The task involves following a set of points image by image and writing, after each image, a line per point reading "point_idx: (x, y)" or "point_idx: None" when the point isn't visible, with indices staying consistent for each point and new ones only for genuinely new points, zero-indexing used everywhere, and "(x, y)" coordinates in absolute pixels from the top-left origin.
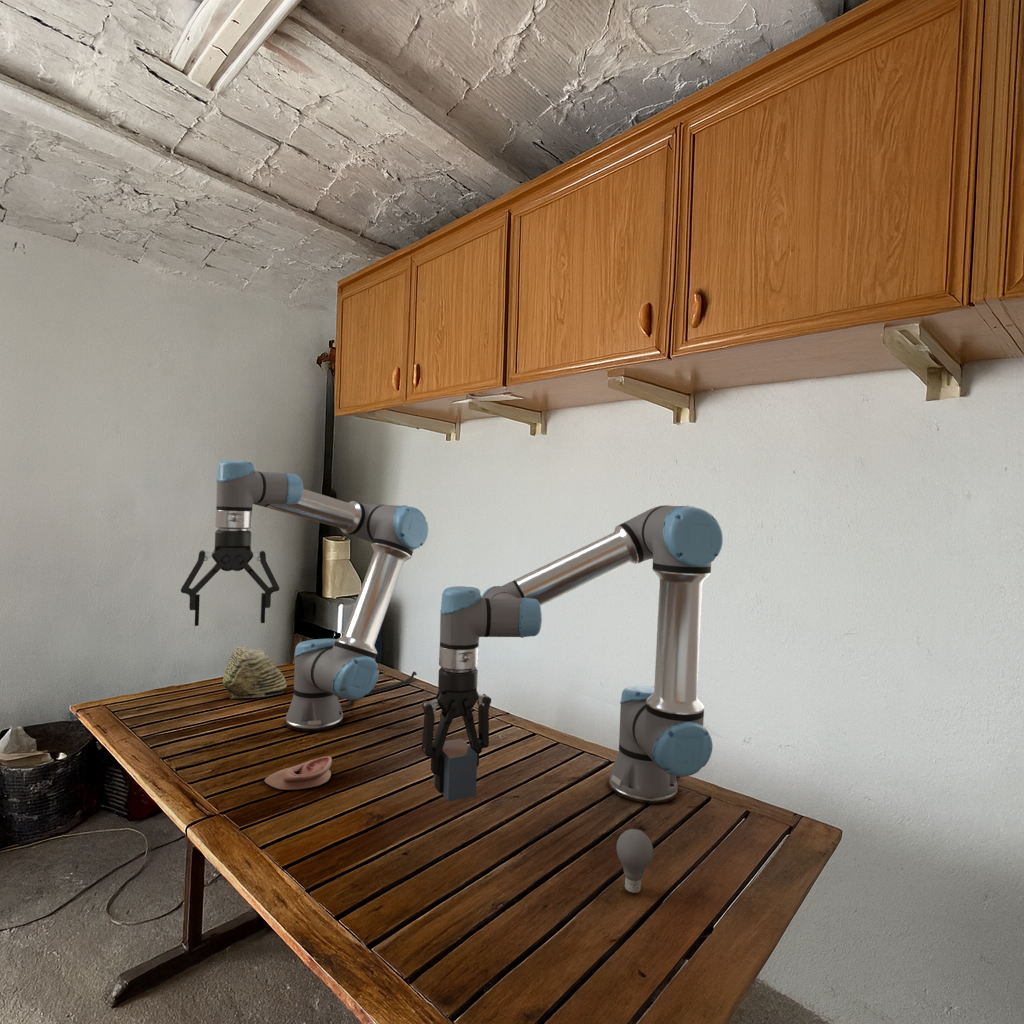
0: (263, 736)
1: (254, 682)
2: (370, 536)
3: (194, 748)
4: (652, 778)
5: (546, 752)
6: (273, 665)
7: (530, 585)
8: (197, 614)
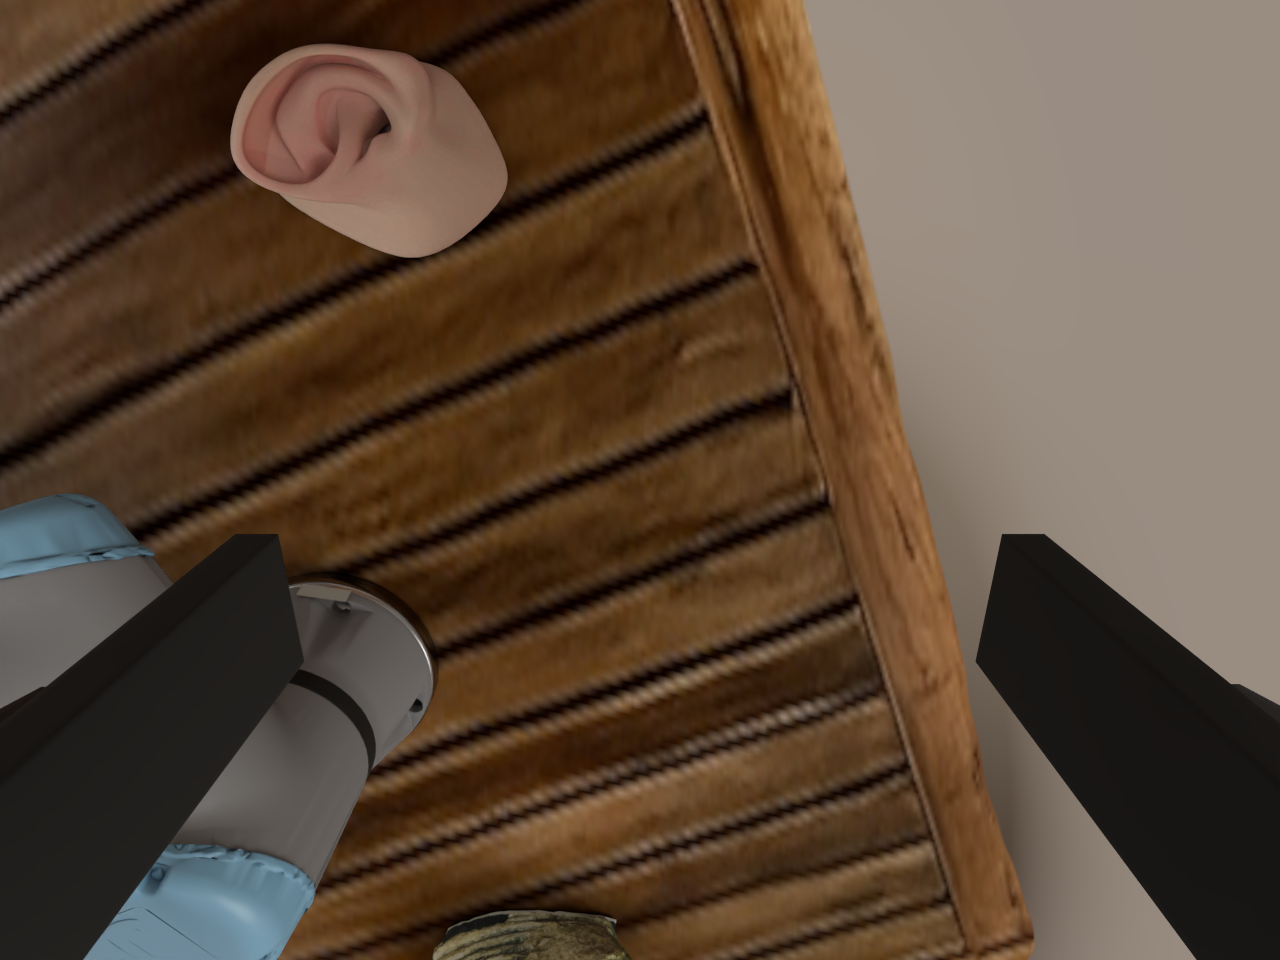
0: (512, 589)
1: (534, 957)
2: None
3: (731, 554)
4: None
5: None
6: None
7: None
8: (1103, 611)
